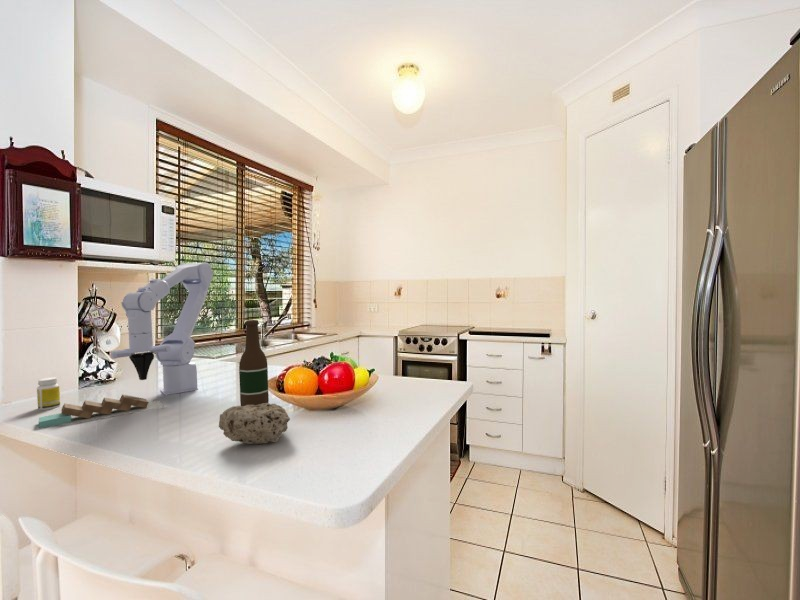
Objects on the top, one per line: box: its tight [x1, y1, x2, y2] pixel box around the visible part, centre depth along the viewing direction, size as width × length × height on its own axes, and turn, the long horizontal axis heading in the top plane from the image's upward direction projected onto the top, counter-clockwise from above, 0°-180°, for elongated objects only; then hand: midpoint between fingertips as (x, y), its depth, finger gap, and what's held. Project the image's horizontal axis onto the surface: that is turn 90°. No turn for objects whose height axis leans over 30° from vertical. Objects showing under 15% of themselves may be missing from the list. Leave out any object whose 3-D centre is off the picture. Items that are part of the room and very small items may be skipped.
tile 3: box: [81, 400, 112, 415], centre depth 104 cm, size 2×5×6 cm
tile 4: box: [60, 402, 93, 418], centre depth 101 cm, size 2×5×6 cm
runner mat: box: [60, 399, 165, 427], centre depth 106 cm, size 22×8×1 cm, turn 131°
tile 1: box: [119, 393, 150, 408], centre depth 109 cm, size 2×5×6 cm
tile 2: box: [101, 397, 131, 411], centre depth 107 cm, size 2×5×6 cm
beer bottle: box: [238, 319, 270, 406], centre depth 108 cm, size 8×8×24 cm
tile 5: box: [38, 412, 72, 429], centre depth 99 cm, size 2×5×6 cm
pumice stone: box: [218, 403, 291, 445], centre depth 84 cm, size 14×12×8 cm
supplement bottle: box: [36, 376, 61, 411], centre depth 112 cm, size 5×5×8 cm
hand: (142, 379), depth 115 cm, fingers closed
